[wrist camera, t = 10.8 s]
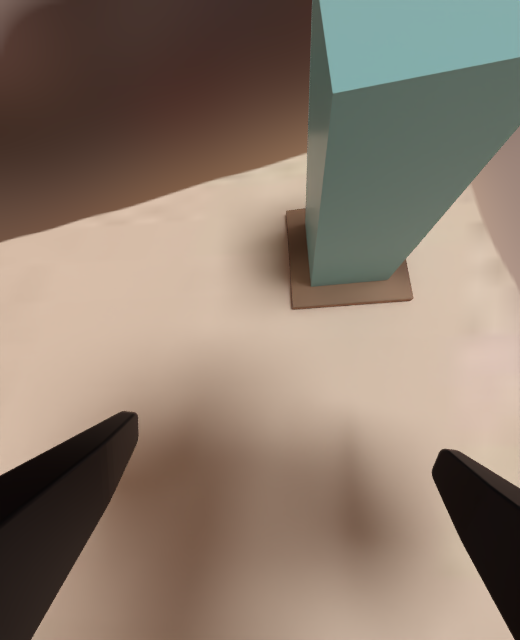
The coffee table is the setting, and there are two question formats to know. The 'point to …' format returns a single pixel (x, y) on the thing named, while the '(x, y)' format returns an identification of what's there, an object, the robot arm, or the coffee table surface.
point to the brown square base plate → (341, 293)
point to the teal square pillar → (401, 123)
